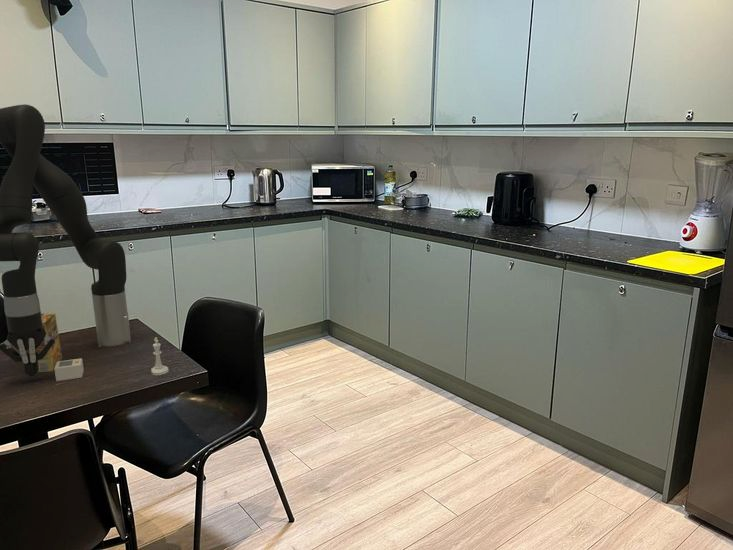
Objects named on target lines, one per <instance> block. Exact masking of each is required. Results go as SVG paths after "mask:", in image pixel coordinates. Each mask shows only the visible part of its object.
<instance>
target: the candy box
mask: <svg viewBox="0 0 733 550" xmlns="http://www.w3.org/2000/svg"><path fill="white" fill-rule="evenodd" d="M41 317H42V324H43V329H44V330H45V332H46V335H48V336H50V337H55V338H56V340H55V342H54V344H53V345H52V347H51V348H50V349H49V351H48V352H47V354H46V355H45V356H44V358H43V359H40V360H38V367H39V370H38V373H45V372H53V371H55V369H54V368H55V366H56V363H57V362H58V361H63V354H62V346H61V341H60V335H59V329H58V323H57V317H56V313H55V312H50V313H49V312H48V313H41ZM44 342H45V339H43V341H42V342H41V344H40V345H39V347H38V348H37V354H39V353H40V352H41V351H42V349H43V348H44V347H45V344H44Z"/></svg>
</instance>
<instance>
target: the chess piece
mask: <svg viewBox="0 0 733 550" xmlns="http://www.w3.org/2000/svg"><path fill="white" fill-rule="evenodd" d="M153 341H154V342H155V343H153V344H152V347H153V349H154V351H153V353H152V354H153V355H155V365H154V366H153V367H151V368H150V371H151V372H150V373H151V376H161V375H162V374H163V375H165V374H167V373H169V371H170V370H169V367H168V366H166V365H164V364H162V360H161V354H162V351H161V350H160V349H161V344H162V343H159V339H158V337H156V336H155V337H154V339H153ZM163 375H162V376H163Z"/></svg>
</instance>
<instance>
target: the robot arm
mask: <svg viewBox="0 0 733 550" xmlns="http://www.w3.org/2000/svg"><path fill="white" fill-rule="evenodd" d="M45 124H46V123H45V120H44V117H43V114H42V113H41V112H40V111H39V109H37V108H36V107H35V106H32V105H31V104H17V105H16V104H15V105H12V106H6V107H1V108H0V145H1V147H2V148H3V149H4V150H5V151H6V153H8V155H9V156H10V157H11V158H12V161H11V163H10V166H9V167H8V169H7V171H6V172H5V175H4V176H3V179H2V181H1V183H0V262H19V266H18V268H16V269H11V270H7V271H5V272H4V273H2V275H1V285H2V286H1V287H2V293H3V298H4V299H3V306H4V309H3V311H4V314H5V319H6V326H7V333H8V334H7V336H6V340H5V341H3V342H1V343H0V351H1V352H2V353H4V355H6V356H7V357H8V358H9V359H11V360H13V361H14V362H15V363H22V364H23V367H24V373H25V375H27V376H28V377H35V376H36V375H37V374H38V373H39V372H38V370H39V367H38V360H40V359H43V358H44V356H45V355H46V354H47V352H48V351H49V349H50V348H51V347H52V345H53V344H54V342H55V340H56V338H55V337H50V336H48V335H46V332H45V330H44V329H43V324H42V317H41V314H42V311H41V305H40V303H41V302H40V298H39V296H38V295H39V294H38V290H37V284H36V269H37V268H36V267H37V260H38V258H39V257H38V256H39V251H40V244H39V241H38V239H37V237H36V236H35V235H34V234H33V233H30V232H13V231H14V229H16V228H17V227H19V226H24V225H27V224H29V223H31V221H32V217H33V216H32V215H33V195H34V194H33V193H34V188H35V189H36V191H37V192H38V193H39V195H40V197H41V199H42V200H43V202H44V203H45V205H46V206H47V208H48V209H49V210H50V211H51V213H52V214H53V216H54V217H55V218H56V219H57V221H58V222H59V224H60V226H61V227H62V229H63V230H64V231H65V232H66V234H67V235H68V237H69V238H70V241H71V242H72V244H73V247H74V248H75V250H76V252H77V254H78V255H79V257H80V259H81V260H82V262H83V263H84V264H85V266H87V267H89V268H90V269H93V270H97V274H98V280H97V281H95V282H93V283H92V284H91V286H90V290H91V299H92V305H93V312H94V320H95V321H94V322H95V329H96V335H97V338H96V339H97V344H98V348H101V347H102V348H104V347H116V346H120V345H125V344H126V345H127V344H131V343H132V337H131V329H130V320H129V312H128V306H127V297H126V287H125V285H126V282H127V260H126V254H125V253H126V252H125V250H124V247H123V246H122V244H120V243H119V242H117V241H115V240H110V239H109V240H108V239H103V238H101V237H100V236H99V235H98V234H97V233H96V230H95V229H94V228H93V227H92V225H91V224H90V221H89V218H88V208H87V207H88V206H87V202H86V198H85V197H84V195H83V193H82V192H81V190H80V189H79V187H78V185H77V184H76V182H75V181H74V179H72V177H71V176H70V175H69V174H67V173H66V172H65V171H64V170H62V169H61V168H59V166H57V165H55V164H53V162H51V161H49V160H48V159H46V158H45V157H44V156H43V155H42V154H41V150H42V146H43V143H44V140H45V139H44V138H45V132H46V125H45ZM43 339H45V342H44V344H45V347H44V348H43V349H42V351H41V352H40V353H39V354H37V348H38V347H39V345H40V344H41V342H42V341H43ZM12 346H13V347H15V349H17V350H19V352H18V351H17V350H15V349H14V348H13V347H12Z"/></svg>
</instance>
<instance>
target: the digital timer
mask: <svg viewBox="0 0 733 550" xmlns="http://www.w3.org/2000/svg"><path fill="white" fill-rule="evenodd" d="M54 374H55V381H56V382H61V381H67V380H73V379H79V378H80V379H81V378H83V375H84V363H83V358H75V359H74V358H73V359H68V360H66V359H65V360H61V361H58V362H57V363H56V366H55V368H54Z"/></svg>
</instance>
